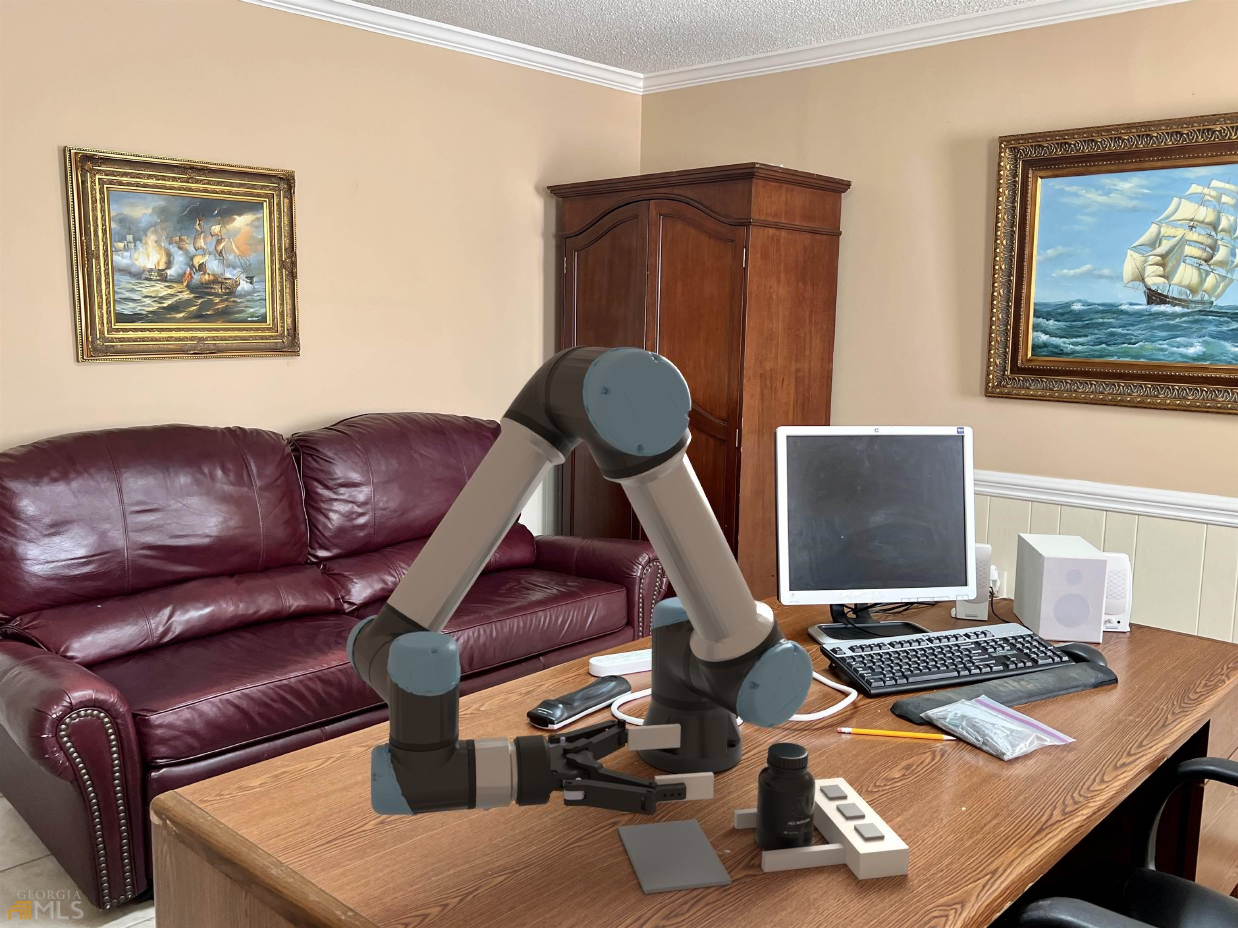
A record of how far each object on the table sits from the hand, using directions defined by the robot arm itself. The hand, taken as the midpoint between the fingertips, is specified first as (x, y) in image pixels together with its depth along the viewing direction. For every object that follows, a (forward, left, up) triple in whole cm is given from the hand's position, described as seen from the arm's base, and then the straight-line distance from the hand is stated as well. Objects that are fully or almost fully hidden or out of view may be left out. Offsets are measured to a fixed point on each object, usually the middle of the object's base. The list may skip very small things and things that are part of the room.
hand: (695, 758), depth 116 cm
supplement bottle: (0, +11, -12) cm, 17 cm away
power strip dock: (0, +15, -12) cm, 19 cm away
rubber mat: (0, -3, -12) cm, 12 cm away
